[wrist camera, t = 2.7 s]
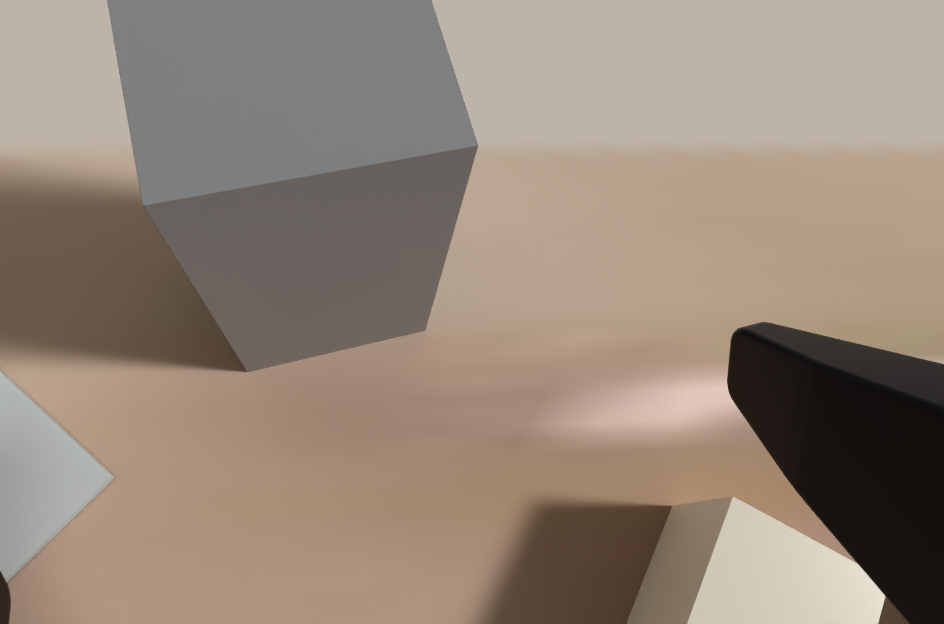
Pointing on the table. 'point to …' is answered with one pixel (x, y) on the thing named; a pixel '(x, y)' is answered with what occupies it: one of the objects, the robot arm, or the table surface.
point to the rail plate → (38, 478)
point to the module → (298, 162)
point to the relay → (748, 573)
